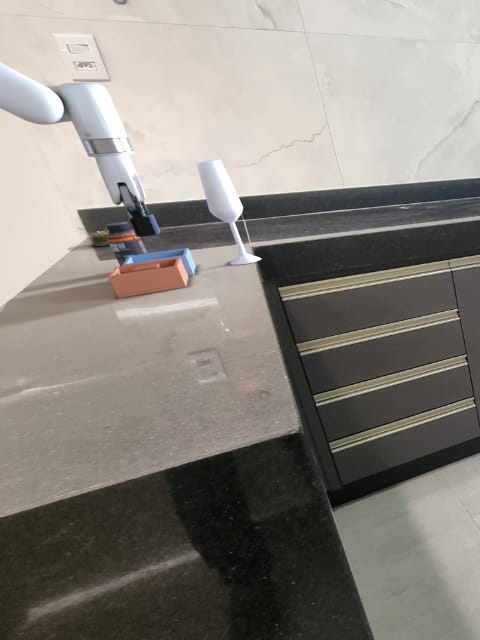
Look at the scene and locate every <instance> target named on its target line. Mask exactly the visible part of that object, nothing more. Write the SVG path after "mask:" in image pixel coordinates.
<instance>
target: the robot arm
mask: <svg viewBox="0 0 480 640" xmlns="http://www.w3.org/2000/svg"><path fill="white" fill-rule="evenodd" d="M109 93H110V92H108V89H107V88H106V87H105V86H104V85H102V84H99V83H94V82H66V83H62V84H59V85H50V84H49V85H48V84H43V83H40V82H38V81H37V80H35V79H33V78H30V77H29V76H27V75H25V74H23V73H21V72H20V71H17V70H16V69H14V68H11V67H10V66H7V65H6V64H4V63H2V62H0V109H1V110H3V111H4V112H7V113H9V114H11V115H13V116H15V117H17V118H19V119H21V120H23V121H26V122H28V123H32V124H36V125H41V126H42V125H43V126H47V125H56V124H60V123H67V122H71V124H72V125H73V127H74V129H75V131H76V134H77V135H78V137H79V140H80V142H81V144H82V146H83V148H84V151H85V152H86V155H87V156H88V158H94V159H95V163H96V165H97V168H98V170H99V173H100V176H101V177H102V180H103V183H104V184H105V187H106V189H107V193H108V194H109V197H110V199H111V202H112V204H114V205H115V206H121V204H123V206H124V209H125V211H126V213H127V216H128V217H129V218H130V221H131V223H132V226H133V228H134V230H135V232H136V234H137V236H138V237H140V238H142V237H149V236H150V237H151V236H156V235H155V234H156V232H155V230H154V228H153V226H152V223H151V221H150V219H149V217H146V215H151V213H150V211H149V209H148V207H147V206H146V203H145V200H146V199H147V195H146V192H145V189H144V186H143V184H142V182H141V179H140V177H139V175H138V171H136V168H135V165H134V163H133V161H132V158H131V157H130V155H135V154H136V153H135V150H134V148H133V146H132V143H131V142H130V139H129V137H128V135H127V132H126V130H125V127H124V125H123V123H122V121H121V118H120V116H119V114H118V111H117V110H116V107H115V104H114V102H113V100H112V98H111V95H110V94H109ZM129 218H128V219H129Z"/></svg>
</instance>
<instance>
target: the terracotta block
mask: <svg viewBox="0 0 480 640" xmlns="http://www.w3.org/2000/svg"><path fill="white" fill-rule="evenodd" d="M159 268H161V267H160V265H159V263H156V264H149V265H142V266H136V267H135V268H134V270H133V271H134V272H140V271H146V270H153V269H159Z"/></svg>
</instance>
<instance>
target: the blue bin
mask: <svg viewBox="0 0 480 640" xmlns="http://www.w3.org/2000/svg"><path fill="white" fill-rule="evenodd" d="M173 258H181V261H182V263H183V265H184V268H185V270H186V272H187V275H188V277H189V276H194V275H195V272H196V263H195V261H194V259H193V257H192V254H191V252H190V249H189V247H185V248H178V249H171V250H170V249H169V250H164V251H156V252H148V254H142V255H134V256H128V258H127V259H126V261H125V262H124V263H123V266H125V265H132V264H139V263H146V262H152V261H159V260H166V259H173Z"/></svg>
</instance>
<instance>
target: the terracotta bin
mask: <svg viewBox="0 0 480 640" xmlns="http://www.w3.org/2000/svg"><path fill="white" fill-rule="evenodd" d="M156 263H159V265H160V267H161V268H159V269H153V270H146V271H140V272H134V271H133V270H134V268H135V267H136V266H142V265H149V264H156ZM107 278H108V280H109V282H110V284H111V286H112V289H113V290H114V292H115V294H116V296H117V298H118V299H122V298H129V297H133V296H134V297H135V296H141V295H146V294H152V293H158V292H164V291H169V290H170V291H171V290H175V289H181V288H186V287H187V285H188V281H189V276H188V275H187V272H186V270H185V268H184V265H183V263H182V261H181V258H173V259H166V260H159V261H152V262H146V263H139V264H132V265H125V266H120V265H119V266H115V267H114V268H113V269H112V271H111V272H110V273H109V275H108V276H107Z"/></svg>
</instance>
